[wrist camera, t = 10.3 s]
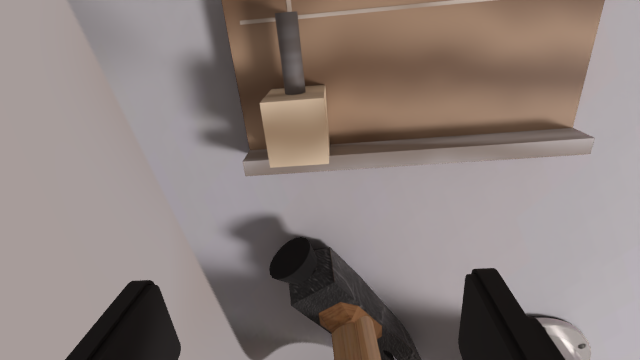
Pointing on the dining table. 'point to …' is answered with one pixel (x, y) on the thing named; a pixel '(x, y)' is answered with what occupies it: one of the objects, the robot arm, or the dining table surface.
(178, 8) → the dining table surface
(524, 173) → the dining table surface
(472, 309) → the robot arm
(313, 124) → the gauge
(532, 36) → the board
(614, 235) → the dining table surface
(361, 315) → the hammer
